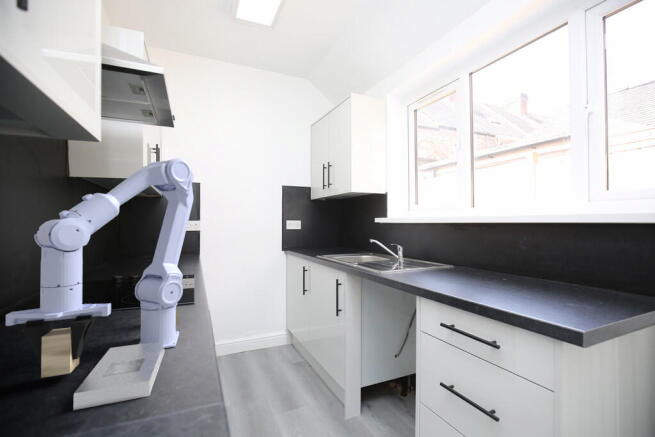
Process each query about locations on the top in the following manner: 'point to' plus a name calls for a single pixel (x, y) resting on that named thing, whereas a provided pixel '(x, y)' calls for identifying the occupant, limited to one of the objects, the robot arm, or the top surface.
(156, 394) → the top surface
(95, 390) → the board with rectangular recess
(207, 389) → the top surface
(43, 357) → the peg
